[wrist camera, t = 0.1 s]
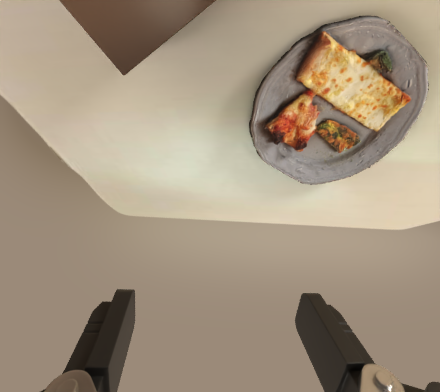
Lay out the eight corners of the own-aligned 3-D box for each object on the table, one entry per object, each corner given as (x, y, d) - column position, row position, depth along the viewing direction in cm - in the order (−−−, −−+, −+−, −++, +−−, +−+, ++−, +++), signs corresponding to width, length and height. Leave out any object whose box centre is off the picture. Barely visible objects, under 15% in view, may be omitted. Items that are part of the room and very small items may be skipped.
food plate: (221, 131, 40) (222, 142, 38) (336, -32, 28) (350, -33, 25) (325, 192, 50) (332, 204, 48) (444, 91, 38) (462, 100, 35)
